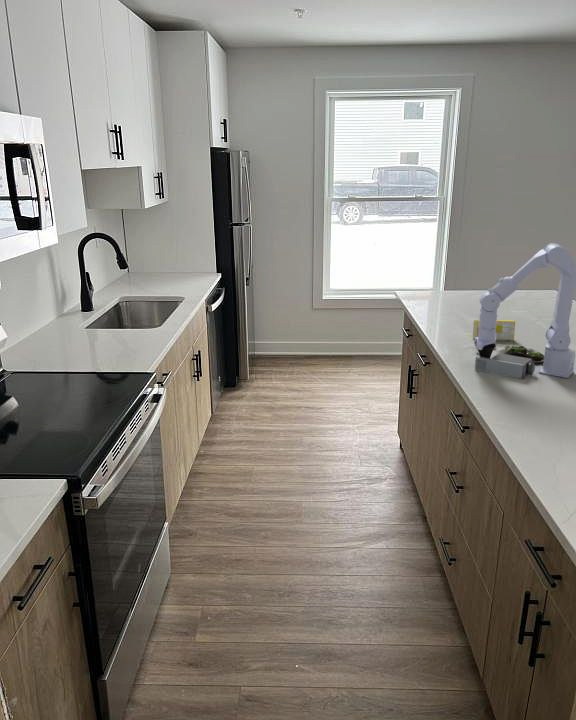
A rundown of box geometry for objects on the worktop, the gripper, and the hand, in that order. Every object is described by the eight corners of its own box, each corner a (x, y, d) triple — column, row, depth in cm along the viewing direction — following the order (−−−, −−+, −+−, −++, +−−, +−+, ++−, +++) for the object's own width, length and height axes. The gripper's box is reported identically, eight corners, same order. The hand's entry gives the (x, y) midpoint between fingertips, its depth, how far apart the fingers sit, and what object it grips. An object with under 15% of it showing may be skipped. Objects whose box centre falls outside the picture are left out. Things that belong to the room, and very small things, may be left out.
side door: (525, 378, 200) (526, 364, 198) (523, 379, 198) (525, 366, 197) (476, 368, 210) (477, 356, 208) (474, 370, 209) (475, 357, 207)
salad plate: (485, 351, 230) (486, 340, 229) (530, 349, 231) (531, 338, 230) (505, 367, 212) (507, 355, 211) (554, 365, 213) (555, 353, 211)
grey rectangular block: (536, 373, 204) (537, 359, 203) (529, 379, 199) (531, 365, 197) (497, 366, 212) (498, 353, 211) (490, 371, 207) (491, 358, 206)
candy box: (513, 339, 243) (515, 320, 241) (513, 341, 242) (515, 321, 239) (472, 338, 248) (473, 318, 245) (472, 339, 246) (473, 320, 243)
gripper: (483, 321, 213) (481, 356, 217) (468, 330, 202) (466, 367, 206) (503, 323, 209) (500, 359, 213) (488, 333, 198) (485, 371, 202)
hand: (484, 364), depth 209 cm, fingers closed
